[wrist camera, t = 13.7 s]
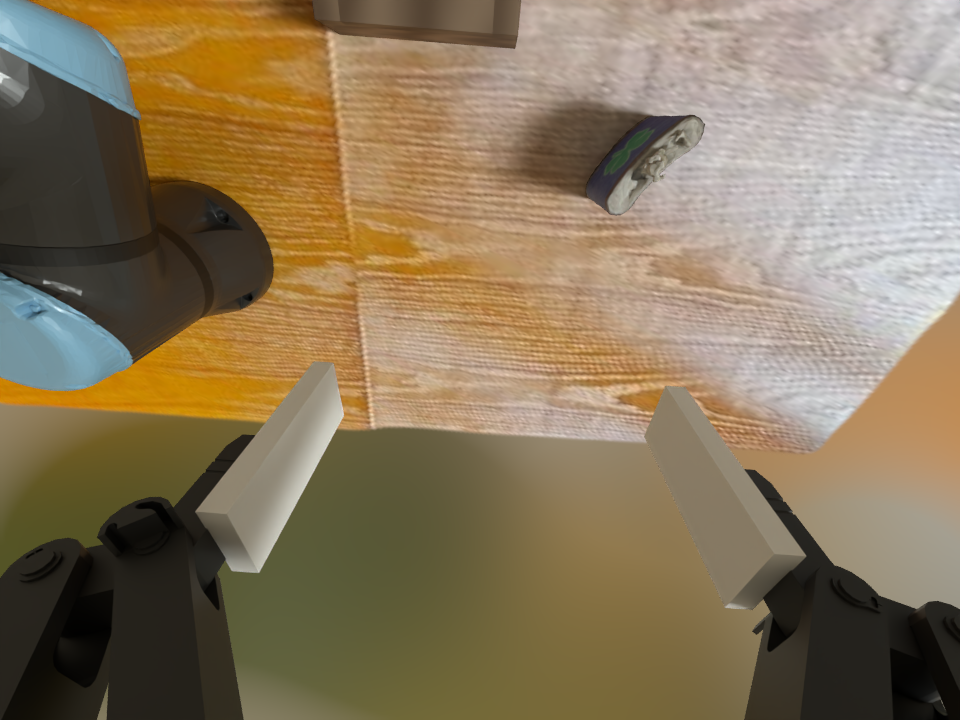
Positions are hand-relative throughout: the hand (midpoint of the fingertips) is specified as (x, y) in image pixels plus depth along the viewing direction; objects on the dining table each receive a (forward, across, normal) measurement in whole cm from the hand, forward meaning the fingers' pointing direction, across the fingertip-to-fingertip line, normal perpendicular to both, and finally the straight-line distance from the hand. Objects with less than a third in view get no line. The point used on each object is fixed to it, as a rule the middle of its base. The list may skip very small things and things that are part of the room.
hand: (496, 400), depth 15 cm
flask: (+32, -12, -7) cm, 35 cm away
